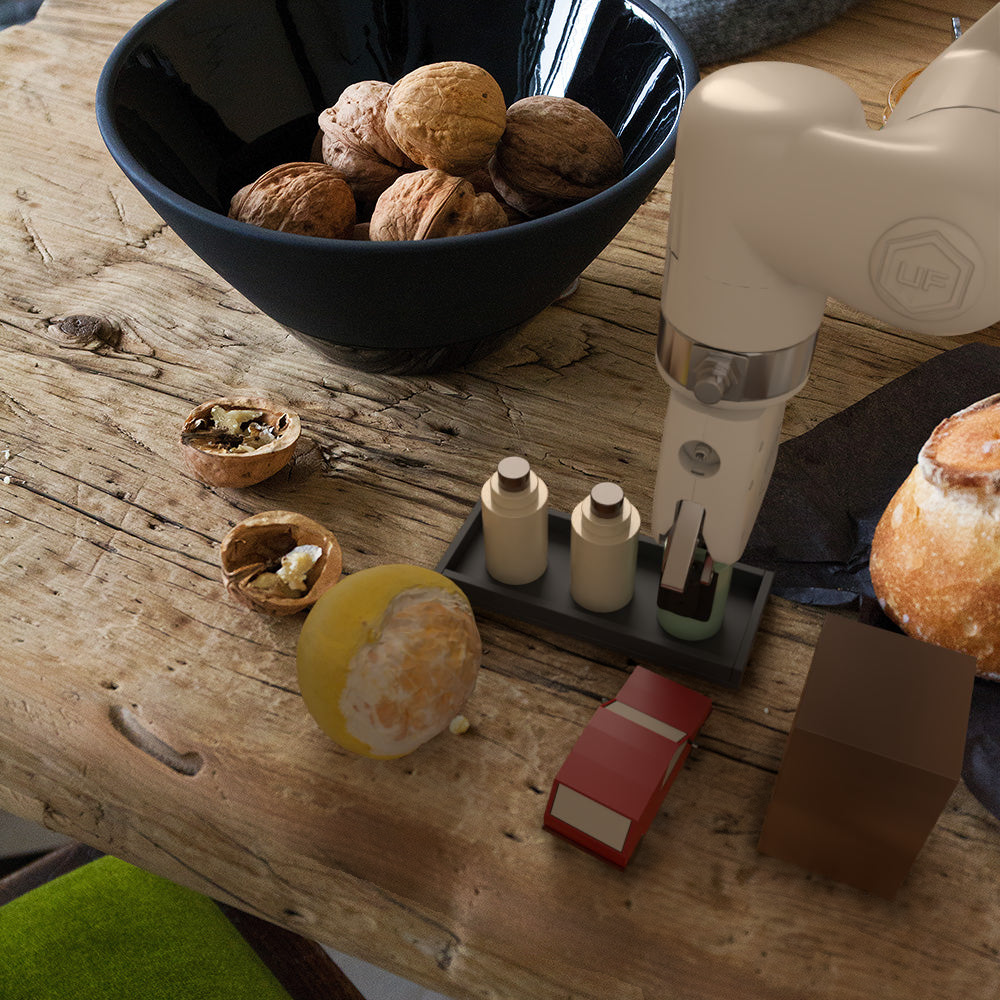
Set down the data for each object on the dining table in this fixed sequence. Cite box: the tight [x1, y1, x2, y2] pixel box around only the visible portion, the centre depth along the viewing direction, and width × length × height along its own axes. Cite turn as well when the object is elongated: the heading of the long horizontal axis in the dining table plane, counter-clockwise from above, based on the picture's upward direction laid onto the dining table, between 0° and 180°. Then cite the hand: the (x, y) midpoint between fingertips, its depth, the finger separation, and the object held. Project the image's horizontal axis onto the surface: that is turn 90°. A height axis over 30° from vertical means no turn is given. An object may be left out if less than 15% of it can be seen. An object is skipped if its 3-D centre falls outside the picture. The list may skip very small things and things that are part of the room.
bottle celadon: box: [656, 539, 734, 641], centre depth 62 cm, size 4×4×9 cm
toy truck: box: [541, 665, 716, 875], centre depth 56 cm, size 6×12×5 cm, turn 149°
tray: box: [433, 496, 776, 692], centre depth 66 cm, size 20×8×2 cm, turn 66°
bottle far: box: [480, 456, 549, 585], centre depth 65 cm, size 4×4×9 cm
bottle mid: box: [569, 481, 642, 613], centre depth 64 cm, size 4×4×9 cm
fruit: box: [295, 563, 483, 761], centre depth 58 cm, size 10×11×10 cm
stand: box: [755, 612, 978, 902], centre depth 51 cm, size 7×7×12 cm
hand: (695, 580), depth 62 cm, fingers closed on bottle celadon, 4 cm apart
